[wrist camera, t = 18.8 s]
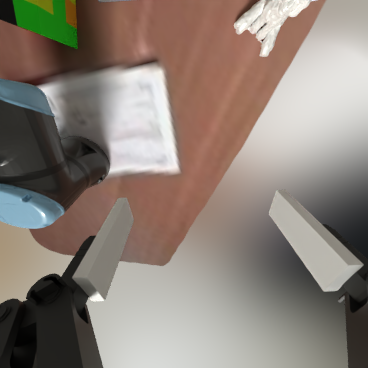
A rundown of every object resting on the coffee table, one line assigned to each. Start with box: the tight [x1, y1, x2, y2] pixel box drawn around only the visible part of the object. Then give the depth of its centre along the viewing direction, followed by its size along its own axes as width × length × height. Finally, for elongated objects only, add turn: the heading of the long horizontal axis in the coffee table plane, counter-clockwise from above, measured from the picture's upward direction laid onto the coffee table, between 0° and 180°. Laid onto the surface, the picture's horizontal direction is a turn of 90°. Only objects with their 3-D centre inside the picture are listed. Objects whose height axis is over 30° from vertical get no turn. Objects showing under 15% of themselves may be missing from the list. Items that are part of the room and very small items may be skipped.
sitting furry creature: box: [234, 0, 316, 57], centre depth 26 cm, size 10×9×12 cm
